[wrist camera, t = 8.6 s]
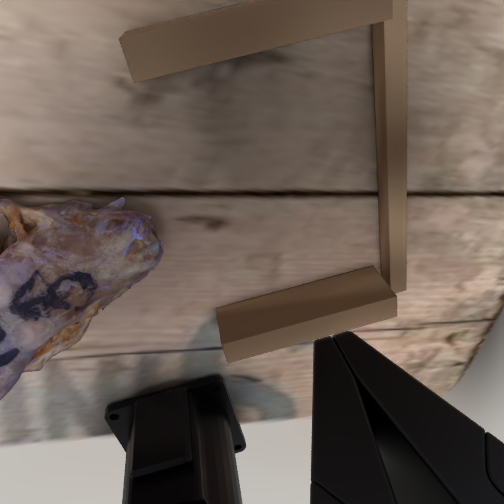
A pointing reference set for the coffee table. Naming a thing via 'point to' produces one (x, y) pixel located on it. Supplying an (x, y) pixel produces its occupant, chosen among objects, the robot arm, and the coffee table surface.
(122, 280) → the skull
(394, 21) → the rail notch
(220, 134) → the coffee table surface
